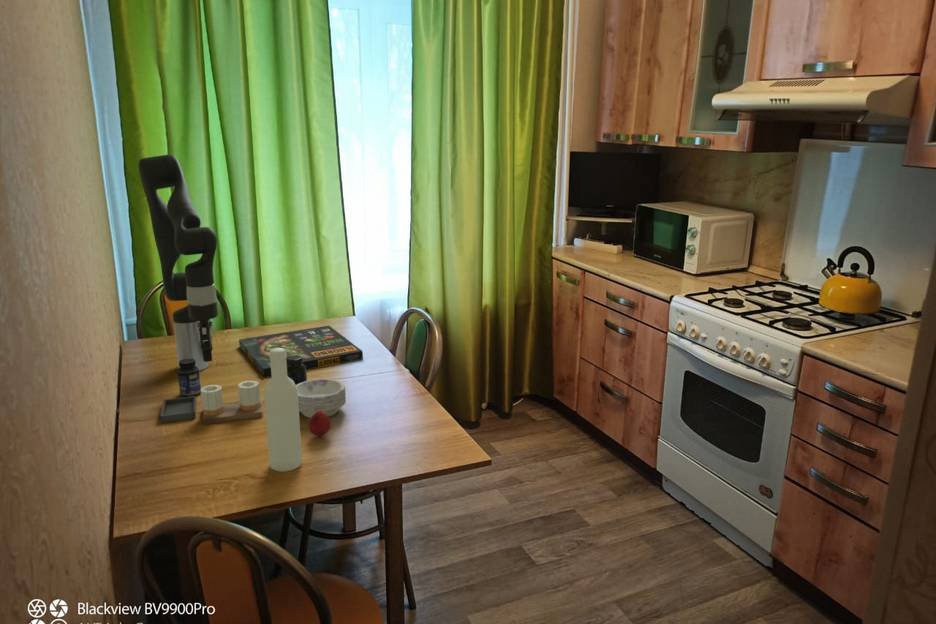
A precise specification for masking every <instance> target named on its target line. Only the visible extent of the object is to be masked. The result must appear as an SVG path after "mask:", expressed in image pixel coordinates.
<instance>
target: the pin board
mask: <svg viewBox="0 0 936 624" xmlns="http://www.w3.org/2000/svg"><path fill="white" fill-rule="evenodd" d="M223 406H224V411H223V412H222V413H220V414H217V415H205V414H203V413H202V415H201V416H202V417H201V420H202V421H201V422H202V425H203V426H204V425H212V424H220V423H227V422H234V421H240V420H242V421H243V420H249V419H257V418H263V410H262V405H261V406H260V407H259V408H258V409H255V410H250V411H244V410H242V409H240V405H239V400H238V401H231V402H230V401H229V402H223Z"/></svg>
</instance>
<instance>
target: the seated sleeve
mask: <svg viewBox="0 0 936 624" xmlns="http://www.w3.org/2000/svg"><path fill="white" fill-rule="evenodd" d="M237 391H238V392H237V393H238V394H237V395H238V401H239V405H240V409H242V410H244V411H250V410H255V409H258V408H259V407H260V406H261V407H262V403H261V392H260V383H259V381H257V380H245V381H242V382H240V383H238V384H237Z"/></svg>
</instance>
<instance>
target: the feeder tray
mask: <svg viewBox="0 0 936 624" xmlns="http://www.w3.org/2000/svg"><path fill="white" fill-rule="evenodd" d="M197 404H198V399H197V396H192V397H176V398H168V399H163V401H162V406H161V411H160V423H163V424H165V423H172V422H179V421H186V420H195V419H196V417H197V409H198V408H197Z"/></svg>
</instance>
